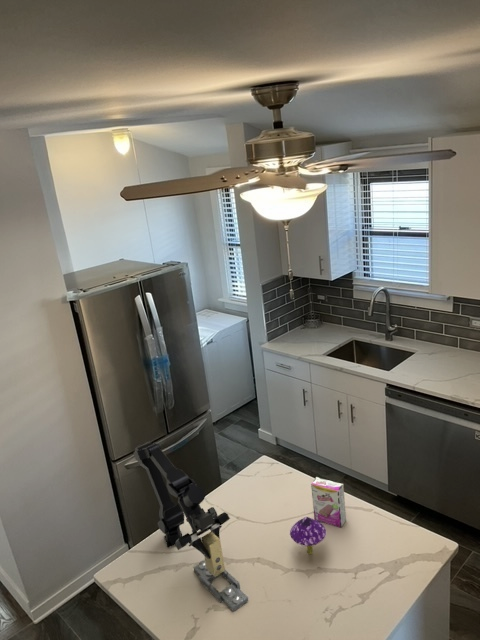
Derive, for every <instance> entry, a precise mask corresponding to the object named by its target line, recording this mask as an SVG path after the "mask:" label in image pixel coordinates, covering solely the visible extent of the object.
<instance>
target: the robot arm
mask: <svg viewBox="0 0 480 640" xmlns="http://www.w3.org/2000/svg"><path fill="white" fill-rule="evenodd" d="M133 457H134V459H135V460H136V461H137V464H138V465H139V466H141V467H142V468H143V469H145V472H146V473H147V476H148V479H149V481H150V483H151V486H152V488H153V490H154V491H153V492H154V494H155V496H156V499H157V501H158V504H159V510H158V511H159V513H158V516H159V519H160V520H159V521H158V522H157V523H156V524H157V527H158V530H160V531H161V532H162V533H163V534H164V540H165V544H166V547H167V548H170V547H172V546H176V549H177V551H179V550H181V549H182V548H184V547H186V546H187V545H188V544H189V545H188V547H190V548H191V547H193V548H194V549H196V550H197V551H199V552H200V553H201V554H202V556H204V557H205V556H206V557H207V558H208V559H210V556H209V553H208V552H207V550H206V548H205V547H204V545H203V543H202V539H201V537H199V536H200V535H203V534H204V533H206V532H208V531H210V532H211V531H212V532H213V533H214V534H215V535H216V536H217V537H218V538H219V539H220V540H221V537H220V529H221V528H222V526H223V525H224V524H225V523H227V522H228V521H229V520H230V519H231V518H230V516H229V514H228V513H227V512H225V511H224V512H222V513H221V514H219V515H218V513H217V510H216V508H215V507H214V506H213V507H212V506H211V507H209V508H207V511H205V509H204V508H202V507H201V505H200V504H202V503H203V501H204V500H205V499H206V492H205V490H204V488H203V487H201V486H199V485H198V484H197V482H196V481H195V480H194V479H192V478H191V477H190V476H189V475H188V474H186V473H185V472H184V470H182V469H179V468H176V466H174V464H173V462H171V460H170V458H168V457H167V455H166V453H165V452H164V451H163V450H162V447H161V445H160V444H159V443H158V442H152V441H147V442H145V443H144V444H141V445H138V446H137V447H135V449H134V451H133ZM164 478H165V479H164ZM165 480H166V482H165ZM171 495H172V496H173V497H175V498H176V499H177V503H176V502H174V501H173V500H172V497H171ZM185 517H186V519H185ZM185 521H186V522H187V523H188V524H189V526H190V528H191V532H192V533H189V532H187V533H185V534H182V530H181V527H180V526H182V525H184V524H185Z"/></svg>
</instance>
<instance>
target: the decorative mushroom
mask: <svg viewBox="0 0 480 640" xmlns="http://www.w3.org/2000/svg"><path fill="white" fill-rule="evenodd" d="M289 535H290V537H291V540H293V541H294V542H295V543H296V544H298V545H301V546H304V547H305V546H306V549H307V551H306V552H307V554H308V555H312V554H313V553H314V550H313V546H315V545H317V544H319V543H321V542H322V541H323V540H324V539H325V537H326V535H327V529H326V527H325V526H324V525H323V524H322V522H321V521H317V520H315V519H314V518H312V517H310V516H305V517H303V518H301V519H299V520H298V521H296V522H295V523H294V524H293V526H291V528H290V530H289Z"/></svg>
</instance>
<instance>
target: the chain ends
mask: <svg viewBox="0 0 480 640" xmlns="http://www.w3.org/2000/svg"><path fill="white" fill-rule="evenodd" d="M193 572H194V573H195V574H196V575H197V576H198V577H199V581H200V584H202V586H204V587H205V588H206V589H207V591H209V592H210V594H211V595H212V596H213V597H215V599H216V600H217V601H218V602H219V603H221V604H222V603H224V604H225V605H226V606H227V607H228V608H229V609H230V610H231V611H232V612H235V611H237V610H238V609H239V608H241V607H242V606H243V605H245V604H247V603H248V602H249V597H248V596H247V595H246V594H245V593H244V592H243V591H242V590H241V585H240V584H241V583H240V582H239V581H238V580H237V579H236V578H235V577H234V576H233V575H232V574H231V573H229V571H228V570H227V569H225V571H224V572H222V573H220V574H219V575H217V576H216V577H214V576H213V574H212V573H211V572H210V571H209V570H208V569H207V567H206V562H205V560H201V561H200V562H199V563H198V564H197V565H195V566H194V567H193ZM219 576H222V577H223V578H224V579H225V580H226V581H227V582H229V584H230V585H228V586H226V587H225V588H224V589H222V590H221V591H218V589H217V588H216V587H215V586H214V585H213V584H212V583H211V582H212V581H213V580H215V579H216V578H218V577H219Z"/></svg>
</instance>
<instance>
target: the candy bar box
mask: <svg viewBox="0 0 480 640" xmlns="http://www.w3.org/2000/svg"><path fill="white" fill-rule="evenodd" d="M310 485H311V487H310V488H311V497H312V505H313V506H312V507H313V517H314V518H313V519H314V520H317V521H319V522H320V523H324V524H327V525H332V526H335V527H336V528H337V527H338V528H342V527H343V526H344V524H345V523H346V521H347V516H346V515H347V514H346V502H345V501H346V499H345V487H344V483H340V482H337V481H332V480H328V479H325V478H321V477H318V476H316V477H315V478H314V480H313V481H311V484H310Z"/></svg>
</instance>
